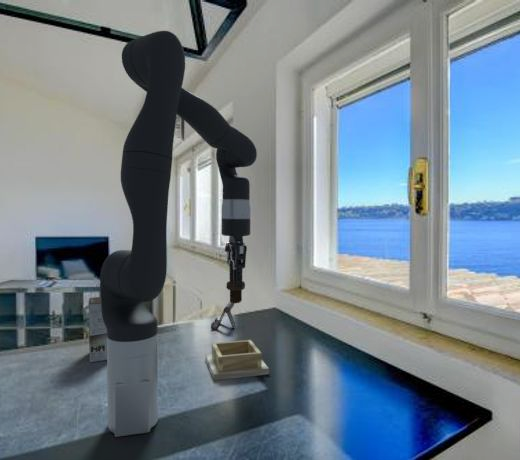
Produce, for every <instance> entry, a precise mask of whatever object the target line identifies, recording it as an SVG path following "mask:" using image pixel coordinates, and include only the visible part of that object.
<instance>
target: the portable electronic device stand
mask: <svg viewBox="0 0 520 460" xmlns="http://www.w3.org/2000/svg"><path fill="white" fill-rule="evenodd" d="M234 307H235V303H231V302H230V301H229V302H228V303H227V304H226V306H225V307H224V308H223V311H222V313H221V315H220V318H218V317H215V319H214V321H213V322H212V323H211V325H210V329H211V330H212V331H216V330H217V329H218V327H219V326H220V324H221V323H222V321H223V318H224V317H225V314H226V315H227V317H228V320H229V322H230V324H231V327H232V329H233V328H234V327H235V324H236V325H237V323H236V321H235V319H234V316H233V314H232V312H231V310H232V309H233V308H234Z"/></svg>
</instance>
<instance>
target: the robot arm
mask: <svg viewBox="0 0 520 460" xmlns="http://www.w3.org/2000/svg"><path fill="white" fill-rule="evenodd" d="M185 55H186V54H185V51H184V47H183V44H182V42H181V40H180V39H179V38H178V36H177V35H176V34H175V33H173V32H171V31H170V30H158V31H153V32H151V33H148V34H145V35H142V36H139V37H137V38H135V39H132V40H130V41H128V42H127V43H126V44H125V45H124V47H123V48H122V51H121V63H122V67H123V69H124V71H125V73H126V75H127V76H128V78H129V79H130V80H131V81H133V83H134V84H136V85H137V86H138V87H139V88H141V90H144V91H145V92H146V95H145V98H144V102H143V105H142V106H141V109H140V111H139V113H138V114H137V117H136V119H135V121H134V122H133V123H132V126H131V128H130V130H129V131H128V133H127V135H126V138H125V140H124V144H123V148H122V155H121V165H120V184H121V188H122V192H123V194H124V197H125V201H126V203H127V206H128V208H129V211H130V215H131V219H132V227H133V229H132V230H133V231H132V232H133V233H132V246H131V249H120V250H115V251H113V252H112V253H110V254H108V255H107V257H105V260H104V262H103V264H102V266H101V270H100V276H99V277H100V278H99V286H100V287H99V288H100V289H99V290H100V292H99V293H100V297H101V308H102V318H103V322H104V324H105V326H106V329H107V360H106V365H107V366H106V367H107V368H106V372H107V373H106V374H107V376H106V377H107V379H106V380H107V381H106V383H107V428H108V431H109V432H111V433H113V434H114V438H118V437H124V436H131V435H138V434H146V433H150V432H151V429H152V428H153V427H154V426H156V424H157V423H158V422H159V376H158V375H159V373H158V371H159V367H158V366H159V365H158V364H159V363H158V362H159V361H158V360H159V359H158V357H159V354H158V353H159V351H158V347H159V345H158V344H159V340H158V335H159V333H158V332H159V331H158V328H159V326H158V320H157V317H156V316H155V315H154V314H152V312H150V311H149V309H148V308H147V306H146V305H145V303H148V302H152V301H154V300H155V299H157V298H158V297H159V296H160V294H161V293H162V291H163V289H164V286H165V283H166V277H167V270H168V269H167V267H168V266H167V265H168V259H167V258H168V257H167V254H168V253H167V249H168V248H167V244H168V243H167V223H168V208H169V207H168V206H169V192H170V186H171V185H170V184H171V176H172V166H173V165H172V164H173V152H174V150H173V149H174V140H175V131H176V122H177V116H178V117H180V118H181V119H182V120H183V121H185V123H187V124H188V126H190V127H191V128H192V129H193V130H194V131H195V132H196V133H197V134H198V135H199V136H200V137H201V138H202V139H203V140H204V142H206V143H207V144H208V146H210V147H211V148H214V149H216V151H215V159H216V164H217V167H218V171H219V176H220V179H221V184H222V202H221V203H222V204H221V233H220V234H221V235H222V236H224V237H228V242H226V245H229V246H230V249H231V246H234V252H232V249H231V252H230V255H231V261H233V283H234V284H235V285H239V284H242V281H243V270H244V269H246V260H247V259H246V258H247V257H246V256H247V251H246V249H247V245H245V242H244V237H247V236H250V235H251V204H250V203H251V201H250V190H251V189H250V187H251V186H250V180H249V179H248V178H247V177H244V176H239V175H238V173H237V168H247V167H250V166H252V165H253V164H254V163H255V162H256V160H257V157H258V155H257V154H258V152H257V147H256V145H255V144H254V142H253V141H252V139H250V138H249V137H248V136H247V135H245V134H244V133H243V132H242V131H239V130H238V129H237V128H235V127H233V126H232V125H230V124H229V122H228V121H227V120H226V119H225V118H224V116H223V115H222V114H221V113H220V112H219V111H218V109H217V108H216V107H214V106H213V105H212V104H211V103H210V102H208V101H206V100H205V99H203V98H201V97H199V96H197V95H195V94H194V93H192V92H190V91H188V90H187V89H185V88H184V87H183V82H184V79H185V70H186V56H185ZM226 245H225V246H226ZM247 250H248V249H247ZM238 261H240V263H238ZM226 263H227V265H228V267H229V268H230V257H229V252H226ZM229 280H230V276H229ZM144 302H145V303H144Z"/></svg>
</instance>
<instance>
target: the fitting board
mask: <svg viewBox="0 0 520 460" xmlns="http://www.w3.org/2000/svg"><path fill="white" fill-rule="evenodd" d="M262 356H263V355H262V351H261V350H260V349H259V348H258V347H257V346H256V345H255V343H254V342H253V341H252V340H251V339H246V340H235V341H234V340H233V341H231V340H230V341H223V342H221V341H220V342H211V353H207V354H206V353H205V361H206V364H207V366H208V369H209V371H210V372H209V373H210V375H211V377H212V381H221V380H230V379H237V378H238V379H239V378H247V377H256V376H265V375H270V368H269V366H268V365H267V364H266V363H265V361H264V360H263V358H262Z"/></svg>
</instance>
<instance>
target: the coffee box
mask: <svg viewBox="0 0 520 460" xmlns="http://www.w3.org/2000/svg"><path fill="white" fill-rule="evenodd" d="M88 344H89V345H88V347H89V348H88V350H89V363H95V362H100V361H107V329H106V326H105V324H104V322H103V318H102V308H101V296H97V297H96V296H95V297H89V300H88Z"/></svg>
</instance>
